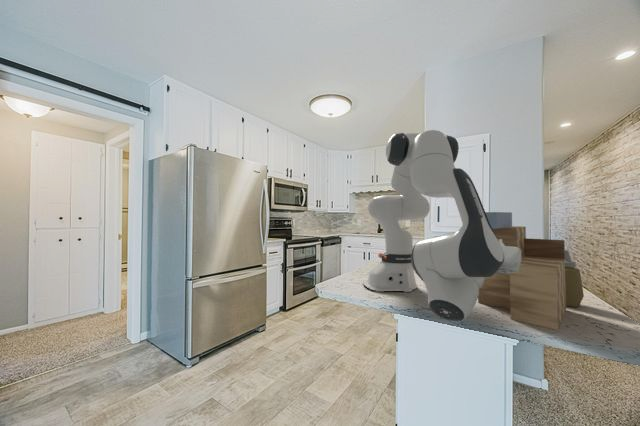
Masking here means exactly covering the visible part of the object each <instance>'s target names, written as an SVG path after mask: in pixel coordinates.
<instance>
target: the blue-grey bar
mask: <svg viewBox="0 0 640 426" xmlns="http://www.w3.org/2000/svg"><path fill="white" fill-rule="evenodd" d="M485 213H486V215H487V218H488V220H489V223H490V225H491V227H492V229H498V228H506V227H512V226H513V212H512V211H511V212H510V211H509V212H507V211H505V212H503V211H495V212H493V211H492V212H489V211H487V212H486V211H485Z"/></svg>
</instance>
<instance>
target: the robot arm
mask: <svg viewBox="0 0 640 426" xmlns="http://www.w3.org/2000/svg"><path fill="white" fill-rule="evenodd" d="M459 148H460V147H459V142H458V140H457V138H456V137H453V136H452V135H447V134H445V133H443V132H442V131H440V130H437V129H429V130H425V131H423V132H421V133H420V132H417V133H415V132H411V133H404V132H399V133H394V134H393V135H391V136H390V137H389V140H388V142H387V144H386V146H385V156H386V160H387V162H388V163H389V164H391V165H393V166H394V167H393V172H392V176H391V180H390V183H391V188H392V189H393V190H394V191H395V193H397V194H396V195H395V194H393V195H390V194H389V195H386V194H385V195H379V196H373V197H372V198H371V200H370V201H369V202H368V203H369V204H368V207H367V208H368V214H369V216H370V217H371V219H373V220H374V221H375V222H377V224H379V225H380V227H381V229H382V231H383V234H384V241H385V252H384V253H381V252H378V254H377V257H378V258H380V259H381V261H380V262H379V263H377V264H376V265H375V266H374V267H372V268H371V269H370V270H369V272H368V277H367V280H363V283H362V285H363V284H364V285H365V286H366V287H367V288H369V289H371V290H377V291H376V292H384V291H404V292H403V293H411V292H412V291H413V290H416V289H417V288H418V285H417V282H416V281H417V280H416V277H415V274H416V275H417V276H418V278H419V279H420V280H421V281H422V282H423V283H424V285H425V289H426V292H427V303H428V307H429V309H430V310H431V312H433V314H435V315H436V316H438V317H440V318H441V319H444V320H446V321H450V322H452V321H453V322H456V321H457V322H460V321H463V320H465V319H467V317H469V315H470V314H471V313H472V311H473V309H474V308H475V305H476V304H477V302H478V296H479V289H480V288H481V287H482V286H483V283H484V281H485V278H486V277H491V276H492V275H494V274H495V273H500V274H505V275H510V274H512V273H518V272H519V269H520V263H521V260H522V255H521V250H520V249H519V248H518V247H512V246H505V245H504V244H503V239H497V237H496V235H495V233H494V231H493V229H492V227H491V225H490V223H489V220H488V218H487V215H486V213H485V212H486V210H485V208H484V206H483V202H482V201H481V198H480V195H479V193H478V190H477V188H476V187H475V184H474V182H473V180H472V178H471V177H470V176H469V174H468V173H467V172H466V171H465V170H464V169H462V168H458V167H456V166H455V162H456V160H457V158H458V154H459ZM425 196H427V197H431V198H438V199H440V198H450V199H451V198H452V199H454V201H455V205H456V207H457V211H458V214H459V217H460V219H461V222H462V225H461V227H460V228H459V229H458V230H457V231H454V232H450V233H446V234H441V235H436V236H431V237H429V238H424V239H421V240H417V242H416V243H414V244H413V241H414V240H413V235H412V234H411V232H410V231H408V230H406V229H404V228H402V227H401V226H400V223H399V222H400V221H419V220H423V219H426V218H427V216H428V214H429V212H430V208H431V206H430V203H429V201H428V199H427V198H426V197H425ZM365 282H366V283H365ZM367 288H366V289H367ZM371 290H370V291H371Z"/></svg>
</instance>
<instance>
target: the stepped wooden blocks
mask: <svg viewBox="0 0 640 426" xmlns="http://www.w3.org/2000/svg"><path fill="white" fill-rule="evenodd" d="M493 231H494V233H495V235H496V237H497V239H503V244H504V245H505V246H512V247H518V248H519V249H520V250H521V255H522V260H521V263H520V269H519V272H518V273H512V274H510V275H505V274H500V273H495V274H494V275H492V276H491V277H486V278H485V281H484V283H483V286H482V287H481V288H480V289H479V296H478V299H477V303H478V304H483V305H488V306H491V307H493V306H494V307H497V308H502V309H507V310H509V311H510V320H514V321H518V322H522V323H525V324H530V325H534V326H539V327H542V328H547V329H552V330H556V331H558V329H559V328H560V325H561V323H562V320H563V318H564V315H565V313H566V311H567V309H566V308H567V306H566V292H565V240H564V239H545V238H543V239H542V238H527V234H526V226H515V225H514V226H513V225H512V227H506V228H498V229H493Z"/></svg>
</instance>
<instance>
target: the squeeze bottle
mask: <svg viewBox="0 0 640 426" xmlns="http://www.w3.org/2000/svg"><path fill="white" fill-rule="evenodd" d="M576 264H577V262H575V261H572V259H571V255H570V251H569V250H567V249H566V250H565V292H566V307H572V308H573V307H575V308H577V307H580V305H581V304H582V302H583V299H584V296H585V295H584V289H583V283H582V276H581V271H580V269H578V268H576V266H577V265H576Z"/></svg>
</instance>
